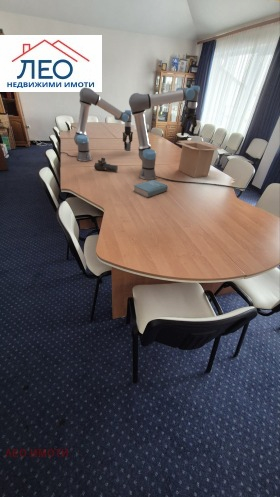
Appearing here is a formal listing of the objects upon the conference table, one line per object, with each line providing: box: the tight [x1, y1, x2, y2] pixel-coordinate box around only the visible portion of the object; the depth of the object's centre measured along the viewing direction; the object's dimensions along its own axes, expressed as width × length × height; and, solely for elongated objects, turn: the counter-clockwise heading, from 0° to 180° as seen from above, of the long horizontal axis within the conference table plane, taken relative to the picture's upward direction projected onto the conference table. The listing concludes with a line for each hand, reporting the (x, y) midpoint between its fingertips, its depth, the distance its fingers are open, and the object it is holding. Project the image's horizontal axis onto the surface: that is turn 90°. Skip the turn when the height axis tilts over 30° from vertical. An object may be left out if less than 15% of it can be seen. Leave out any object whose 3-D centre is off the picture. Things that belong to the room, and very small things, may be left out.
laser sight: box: [93, 157, 119, 173], centre depth 211 cm, size 10×22×10 cm, turn 78°
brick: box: [123, 141, 132, 152], centre depth 264 cm, size 5×6×9 cm
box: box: [176, 139, 222, 179], centre depth 217 cm, size 44×36×27 cm
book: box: [133, 179, 169, 198], centre depth 177 cm, size 23×16×5 cm
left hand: (127, 147), depth 265 cm, fingers closed on brick, 5 cm apart
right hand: (187, 135), depth 203 cm, fingers open, 13 cm apart
